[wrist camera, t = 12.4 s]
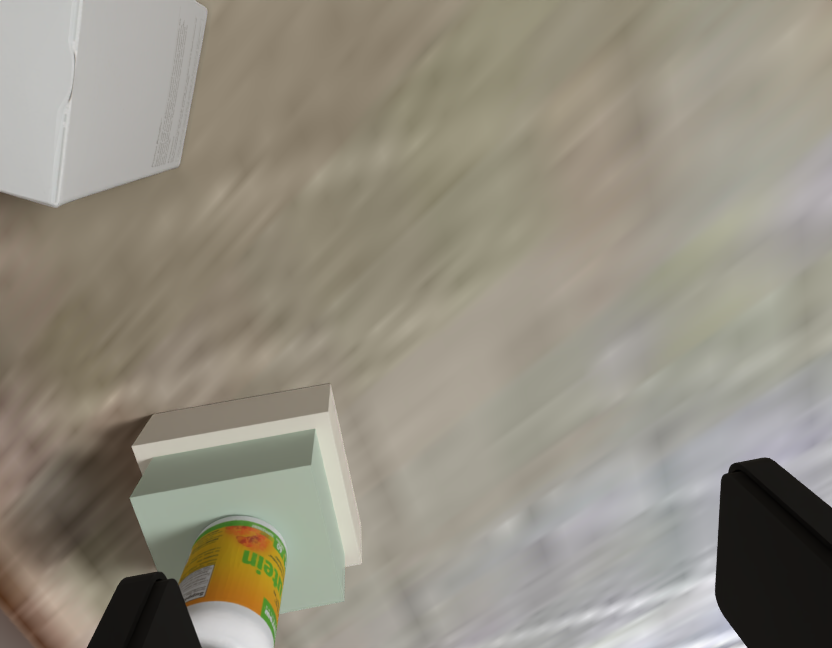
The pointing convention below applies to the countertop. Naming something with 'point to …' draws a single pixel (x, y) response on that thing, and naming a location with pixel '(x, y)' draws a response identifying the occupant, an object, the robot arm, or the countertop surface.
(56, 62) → the supplement box
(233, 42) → the countertop surface
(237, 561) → the supplement bottle
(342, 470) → the block
